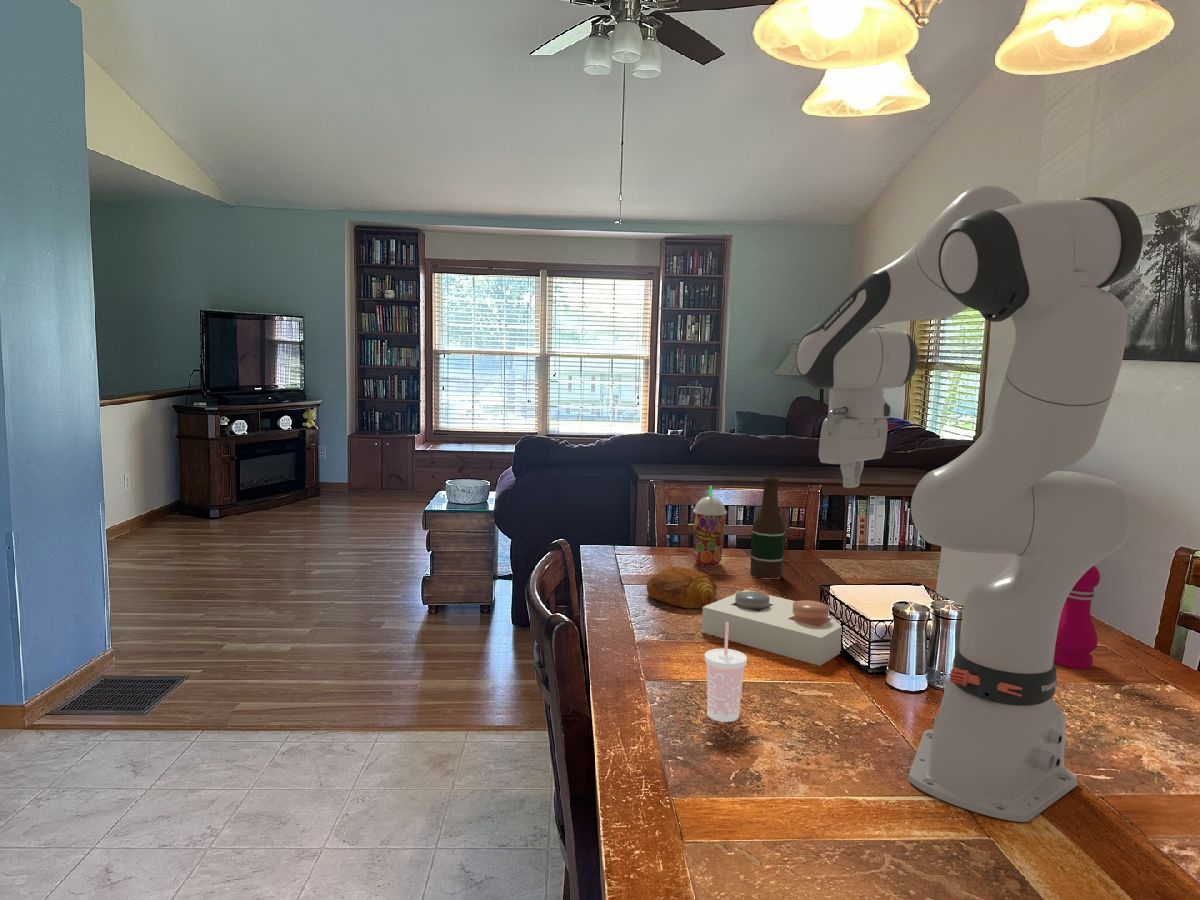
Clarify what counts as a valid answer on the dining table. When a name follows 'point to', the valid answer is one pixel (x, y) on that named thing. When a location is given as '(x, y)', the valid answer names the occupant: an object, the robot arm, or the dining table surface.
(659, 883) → the dining table surface
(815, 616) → the terracotta button
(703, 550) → the smoothie
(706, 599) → the croissant
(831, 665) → the dining table surface
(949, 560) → the milk
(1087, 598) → the pepper mill
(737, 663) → the beverage cup
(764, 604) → the graphite button
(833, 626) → the button panel
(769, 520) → the beer bottle
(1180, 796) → the dining table surface
